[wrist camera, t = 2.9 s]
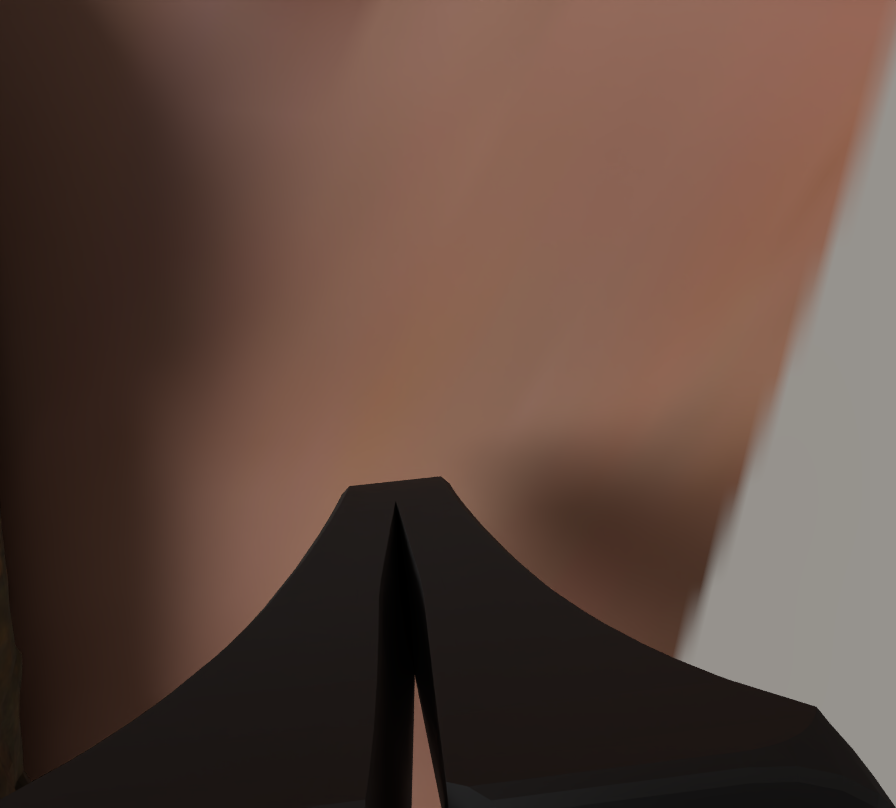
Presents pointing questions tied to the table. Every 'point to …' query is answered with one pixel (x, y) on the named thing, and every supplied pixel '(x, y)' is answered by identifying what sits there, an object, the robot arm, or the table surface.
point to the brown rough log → (9, 693)
